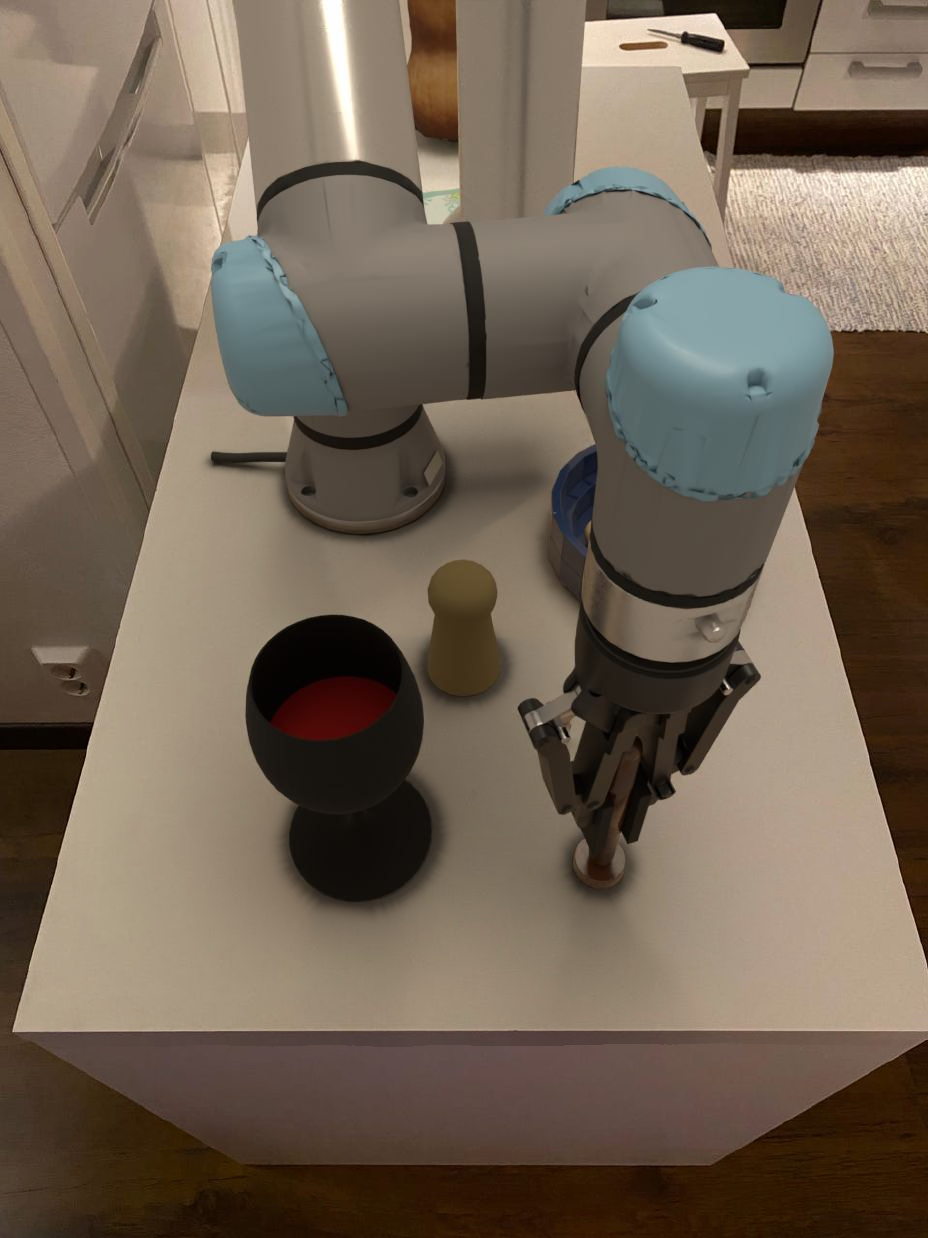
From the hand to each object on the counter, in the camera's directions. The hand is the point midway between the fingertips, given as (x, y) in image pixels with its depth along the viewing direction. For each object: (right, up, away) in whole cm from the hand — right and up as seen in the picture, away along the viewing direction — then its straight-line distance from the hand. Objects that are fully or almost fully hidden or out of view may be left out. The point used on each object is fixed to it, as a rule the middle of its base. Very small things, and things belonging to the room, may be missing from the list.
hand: (606, 830), depth 62 cm
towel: (-10, +57, +52) cm, 78 cm away
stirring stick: (0, -3, +4) cm, 5 cm away
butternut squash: (-11, +82, +72) cm, 110 cm away
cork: (-9, +10, +15) cm, 21 cm away
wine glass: (-17, -2, +6) cm, 18 cm away
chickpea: (+3, +21, +21) cm, 30 cm away
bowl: (+7, +20, +23) cm, 31 cm away
